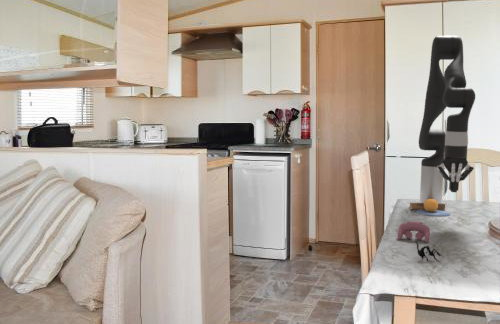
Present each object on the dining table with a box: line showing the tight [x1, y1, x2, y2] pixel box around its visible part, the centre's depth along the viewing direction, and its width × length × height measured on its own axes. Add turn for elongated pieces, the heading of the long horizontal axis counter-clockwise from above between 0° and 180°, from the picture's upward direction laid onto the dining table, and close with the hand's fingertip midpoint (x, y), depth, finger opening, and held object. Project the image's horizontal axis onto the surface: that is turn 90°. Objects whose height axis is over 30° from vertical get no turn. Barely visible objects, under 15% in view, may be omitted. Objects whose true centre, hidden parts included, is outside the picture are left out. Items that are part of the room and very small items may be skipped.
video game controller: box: [397, 220, 431, 244], centre depth 160 cm, size 10×5×7 cm, turn 66°
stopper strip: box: [409, 202, 446, 211], centre depth 211 cm, size 2×14×2 cm, turn 87°
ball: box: [424, 199, 438, 212], centre depth 205 cm, size 6×6×6 cm
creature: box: [414, 240, 445, 264], centre depth 138 cm, size 8×5×8 cm
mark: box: [415, 209, 451, 217], centre depth 203 cm, size 13×13×1 cm
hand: (453, 191), depth 181 cm, fingers closed
